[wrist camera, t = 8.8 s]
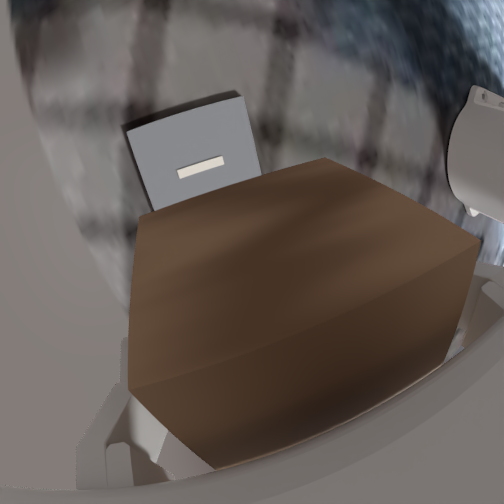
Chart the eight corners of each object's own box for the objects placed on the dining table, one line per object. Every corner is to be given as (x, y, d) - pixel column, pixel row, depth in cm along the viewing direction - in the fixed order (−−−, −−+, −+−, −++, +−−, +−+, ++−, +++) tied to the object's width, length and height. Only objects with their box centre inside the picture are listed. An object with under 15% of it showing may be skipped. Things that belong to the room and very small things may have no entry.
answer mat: (241, 95, 21) (243, 96, 20) (264, 198, 26) (267, 201, 25) (127, 131, 20) (126, 132, 19) (164, 232, 25) (164, 236, 24)
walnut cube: (324, 157, 9) (481, 240, 4) (338, 297, 12) (423, 404, 7) (139, 216, 8) (128, 389, 3) (202, 349, 12) (241, 488, 7)
